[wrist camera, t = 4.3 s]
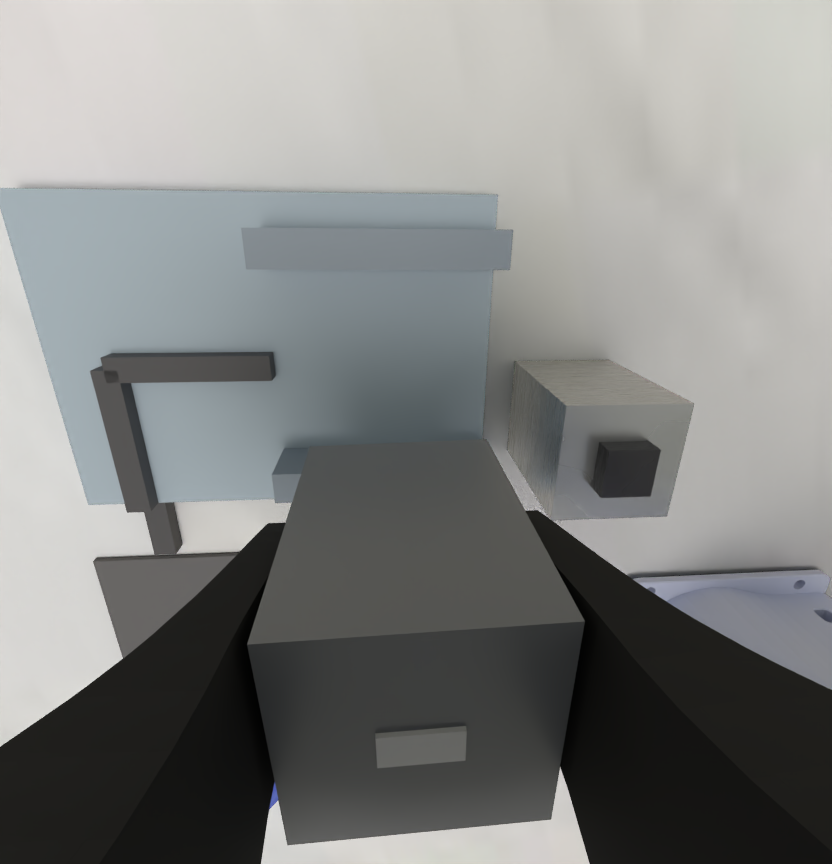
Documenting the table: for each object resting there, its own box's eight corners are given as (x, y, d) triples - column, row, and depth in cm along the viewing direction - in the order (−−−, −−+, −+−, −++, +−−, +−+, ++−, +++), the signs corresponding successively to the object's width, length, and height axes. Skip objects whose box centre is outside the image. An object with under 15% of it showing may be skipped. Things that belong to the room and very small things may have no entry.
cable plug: (608, 359, 17) (709, 411, 12) (594, 447, 18) (678, 528, 13) (514, 360, 17) (575, 413, 12) (506, 449, 18) (558, 532, 13)
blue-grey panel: (490, 197, 15) (516, 186, 12) (470, 533, 19) (486, 581, 17) (20, 191, 14) (-72, 178, 11) (119, 546, 18) (73, 600, 16)
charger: (486, 438, 11) (587, 625, 6) (479, 578, 12) (552, 824, 7) (309, 446, 10) (245, 648, 5) (325, 587, 12) (286, 850, 7)
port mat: (250, 552, 19) (248, 556, 19) (267, 661, 21) (266, 666, 21) (96, 558, 18) (92, 562, 18) (130, 669, 21) (127, 674, 21)
